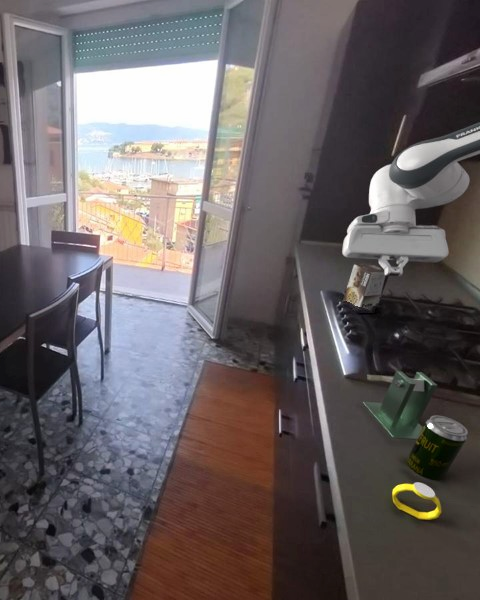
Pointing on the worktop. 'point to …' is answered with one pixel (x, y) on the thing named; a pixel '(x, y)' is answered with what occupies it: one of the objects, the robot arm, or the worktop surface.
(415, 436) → the bracket
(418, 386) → the lever
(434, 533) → the worktop surface
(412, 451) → the green drink can
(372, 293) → the coffee box
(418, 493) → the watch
